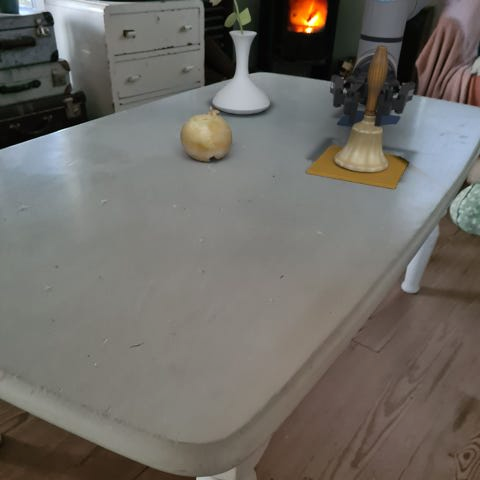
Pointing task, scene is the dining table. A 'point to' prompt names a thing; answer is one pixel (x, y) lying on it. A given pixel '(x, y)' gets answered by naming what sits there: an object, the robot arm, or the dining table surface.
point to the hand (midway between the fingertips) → (365, 114)
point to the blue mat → (360, 115)
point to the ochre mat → (382, 179)
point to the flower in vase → (240, 73)
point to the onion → (206, 136)
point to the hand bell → (367, 125)
